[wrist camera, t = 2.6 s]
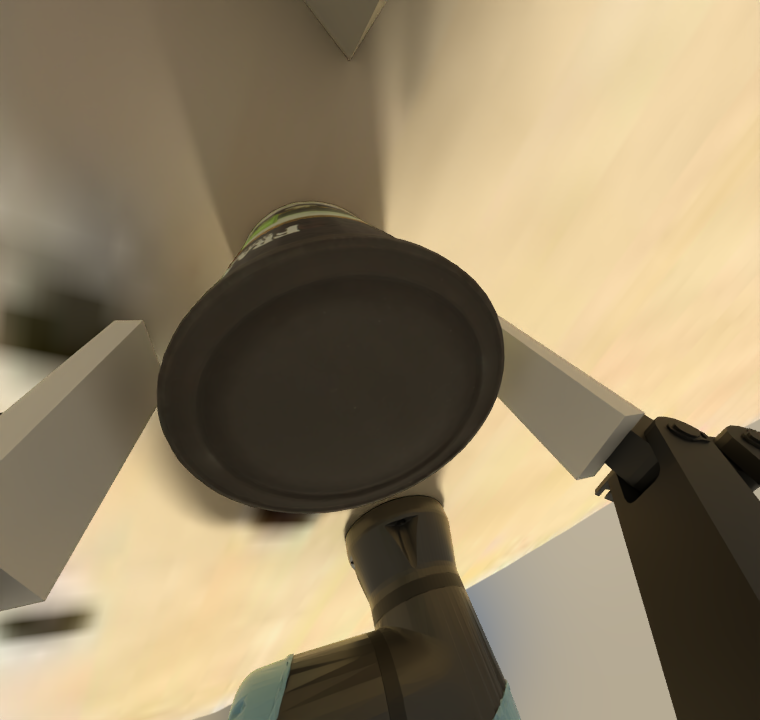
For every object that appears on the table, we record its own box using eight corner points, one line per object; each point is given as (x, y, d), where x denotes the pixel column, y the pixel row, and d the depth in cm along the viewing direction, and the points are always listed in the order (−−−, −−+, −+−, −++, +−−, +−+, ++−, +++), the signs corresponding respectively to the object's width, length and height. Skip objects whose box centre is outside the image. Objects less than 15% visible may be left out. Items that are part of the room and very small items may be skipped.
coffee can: (211, 303, 19) (91, 490, 7) (290, 159, 16) (293, 99, 5) (337, 365, 24) (381, 531, 13) (413, 265, 21) (559, 361, 10)
